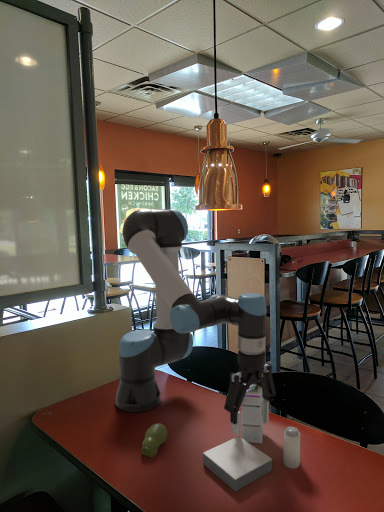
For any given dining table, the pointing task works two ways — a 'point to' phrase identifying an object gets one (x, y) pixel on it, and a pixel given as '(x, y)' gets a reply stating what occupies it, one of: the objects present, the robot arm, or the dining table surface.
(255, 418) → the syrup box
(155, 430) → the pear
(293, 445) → the shaker
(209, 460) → the riser
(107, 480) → the dining table surface
